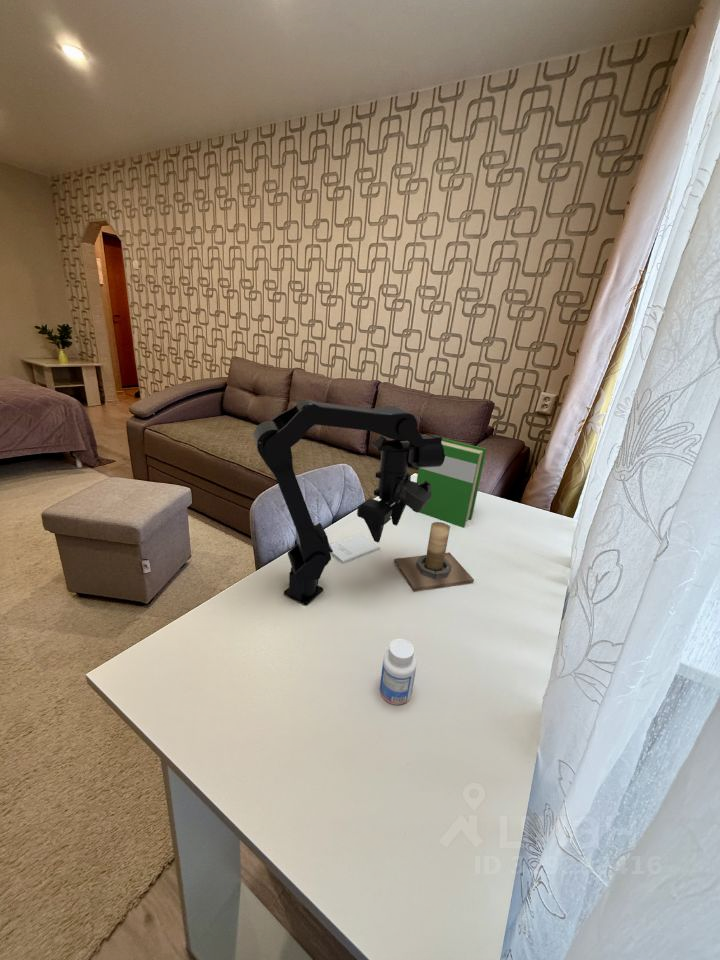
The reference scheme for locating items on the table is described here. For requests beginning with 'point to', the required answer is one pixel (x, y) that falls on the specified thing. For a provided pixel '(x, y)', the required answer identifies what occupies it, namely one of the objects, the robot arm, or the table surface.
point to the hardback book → (454, 482)
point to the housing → (432, 573)
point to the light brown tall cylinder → (437, 546)
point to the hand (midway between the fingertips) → (386, 533)
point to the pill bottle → (398, 672)
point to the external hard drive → (353, 548)
